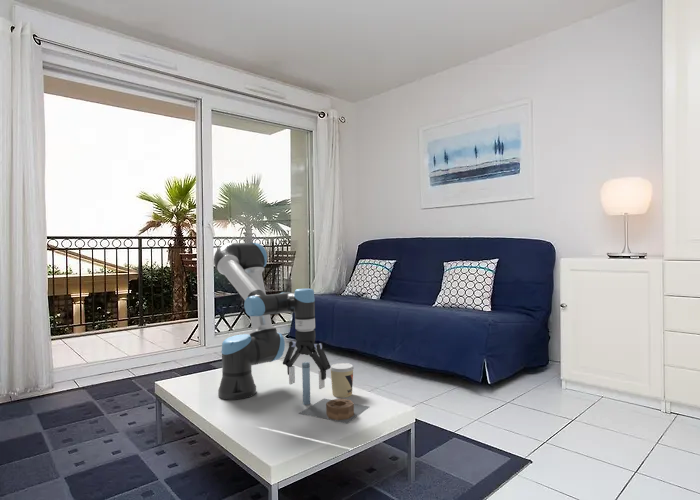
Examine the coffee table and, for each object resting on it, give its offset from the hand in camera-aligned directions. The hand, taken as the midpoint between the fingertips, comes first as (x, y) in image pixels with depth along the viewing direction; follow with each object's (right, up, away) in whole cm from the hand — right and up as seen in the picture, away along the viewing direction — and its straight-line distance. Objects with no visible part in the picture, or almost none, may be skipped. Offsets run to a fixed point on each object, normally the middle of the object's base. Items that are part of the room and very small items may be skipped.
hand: (306, 385), depth 166 cm
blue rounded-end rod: (0, -7, 0) cm, 7 cm away
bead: (+13, -7, -12) cm, 18 cm away
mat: (+11, -7, -7) cm, 15 cm away
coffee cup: (+13, -7, +10) cm, 18 cm away
